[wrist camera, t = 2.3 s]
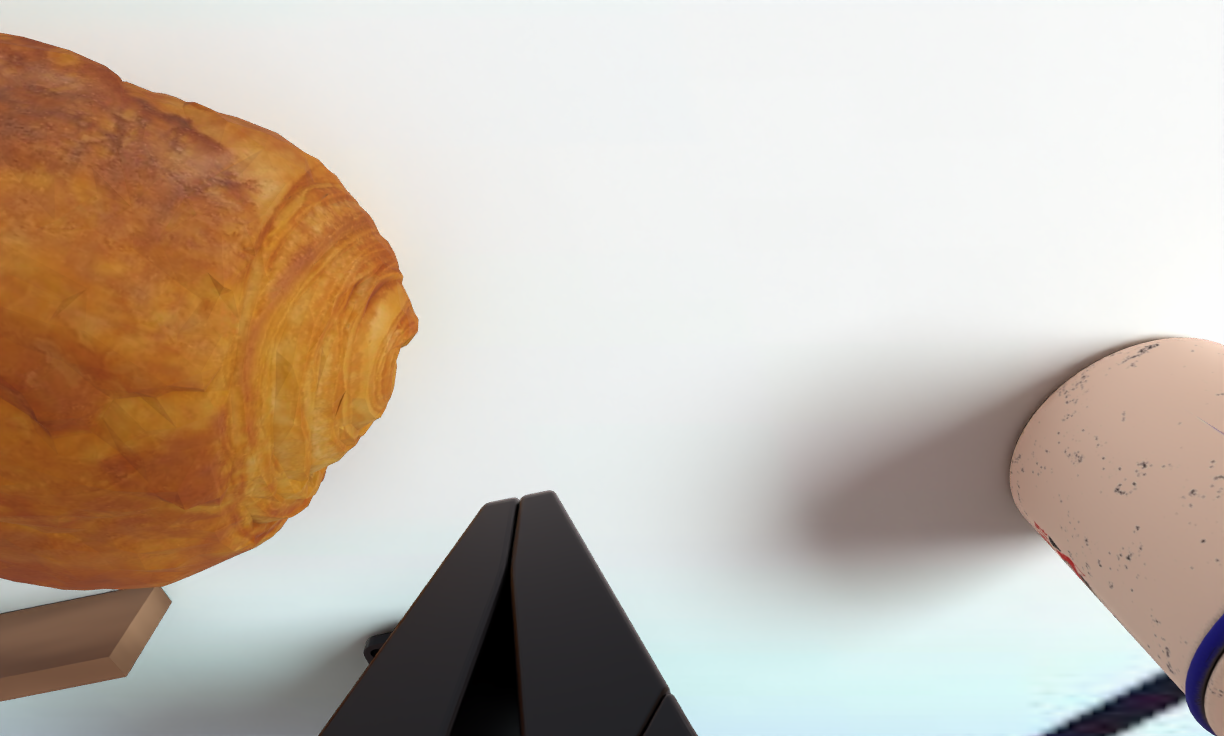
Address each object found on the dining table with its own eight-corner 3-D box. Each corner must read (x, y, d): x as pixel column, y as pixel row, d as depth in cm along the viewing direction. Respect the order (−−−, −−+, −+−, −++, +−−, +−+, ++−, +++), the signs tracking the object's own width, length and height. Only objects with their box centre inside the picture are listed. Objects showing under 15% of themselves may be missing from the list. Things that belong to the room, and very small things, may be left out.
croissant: (-155, -84, 16) (-830, -201, 8) (480, 164, 18) (370, 240, 10) (-105, 415, 22) (-480, 597, 14) (366, 561, 23) (245, 787, 16)
